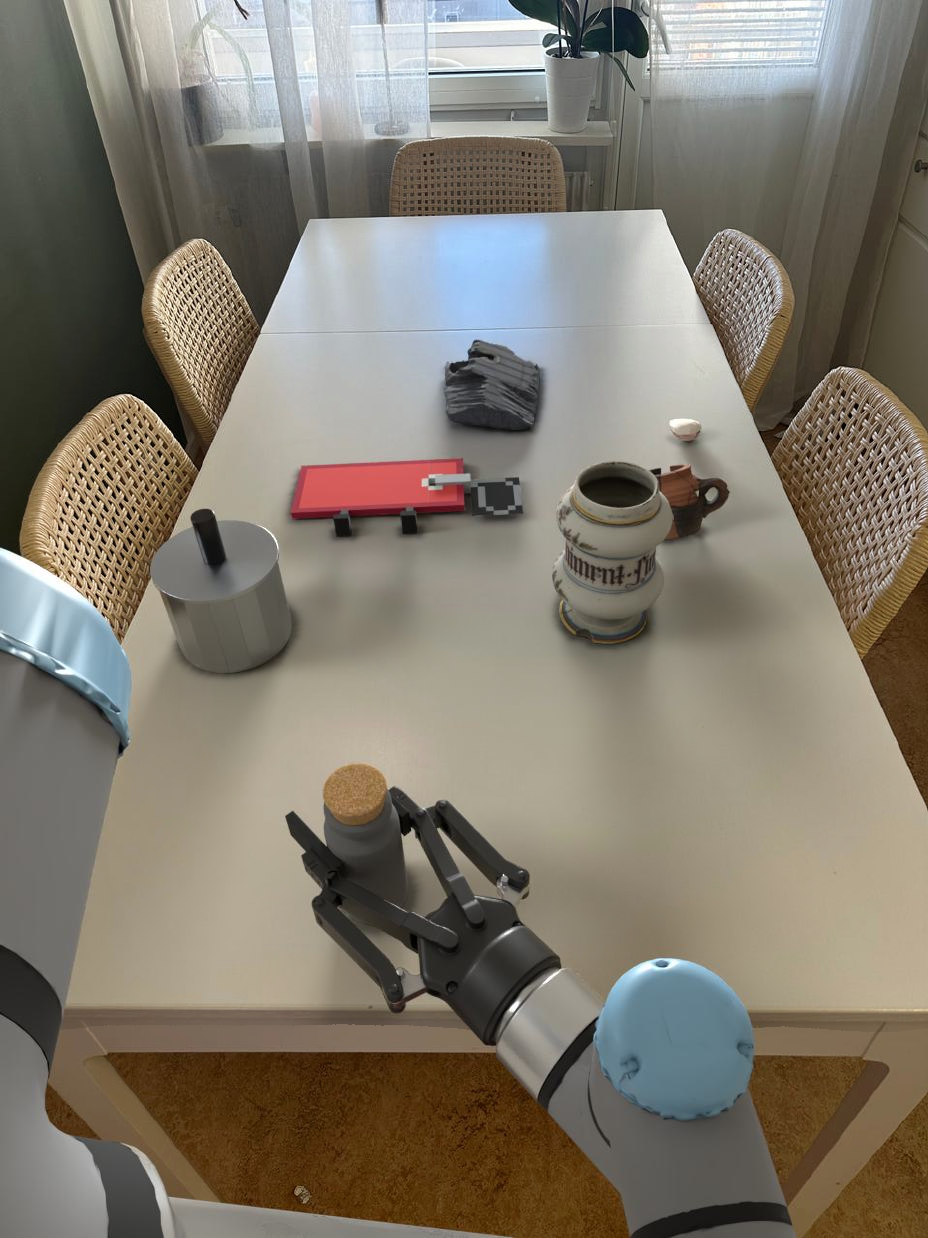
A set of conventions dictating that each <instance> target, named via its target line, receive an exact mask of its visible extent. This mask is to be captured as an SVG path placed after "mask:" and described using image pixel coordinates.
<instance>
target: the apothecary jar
mask: <svg viewBox="0 0 928 1238" xmlns="http://www.w3.org/2000/svg"><path fill="white" fill-rule="evenodd" d="M649 470H650V469H648V468H646V467H644V466H643V465H640V464H637V463H633V462H630V461H624V460H606V461H600V462H596V463H593V464H591V465H589V466H587V467H585V468H583V469H582V470H581V471H580V472H579V473H578V475H577V476H576V478H575V480H574V484H573V485H572V486H571V485H570V487H569V488H568V489H567V490H565V492H563V494H562V495H561V497H560V499H559V500H558V503H557V506H556V511H555V519H556V523H557V527H558V530H559V531H560V532H561V534H562V536H563V537H564V538H565V545H564V546H565V547H564V548H563V549H562V550H561V551H560V552H559V554H558V555H557V557H556V558H555V561H554V563H553V566H552V571H551V579H552V584H553V587H554V590H555V591H556V593H557V595H558V596H559V597H560V599H561V601H560V604H559V608H558V609H559V611H558V613H559V617H560V620H561V623H562V624H563V625H564V627H565V628H566V629H567V630H568V631H569V632H570V633H571V634H573V635H574V636H577V637H583V638H584V637H585V638H587V639H589V640H590V641H591V642H592V643H595V644H601V645H602V644H603V645H615V644H619V643H624V642H627V641H630V640H631V639H634V638H635V637H637V636H638V635H639V634H640V633H641V632H642V631H643V630H644V628H645V626H646V624H647V620H648V611H647V610H648V609H649V608H651V606H653V605H654V604H655V602H656V601H657V600H658V599H659V598H660V596H661V594H662V592H663V589H664V584H665V573H664V569H663V566H662V564H661V562H660V560H659V559H658V557H657V547H658V546H659V545H660V544H661V543H662V542H664V541H665V540H666V539H665V538H666V537H667V535H668V533H669V532H670V529H671V526H672V521H673V514H672V510H671V507H670V504H669V502H668V500H667V499H666V497H665V496H664V495H663V494H662V493H661V492H660V489H659V482H658V480H657V478H656V476H655V475H654V474H653V473H652V472H650V471H649ZM664 539H665V540H664Z"/></svg>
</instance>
